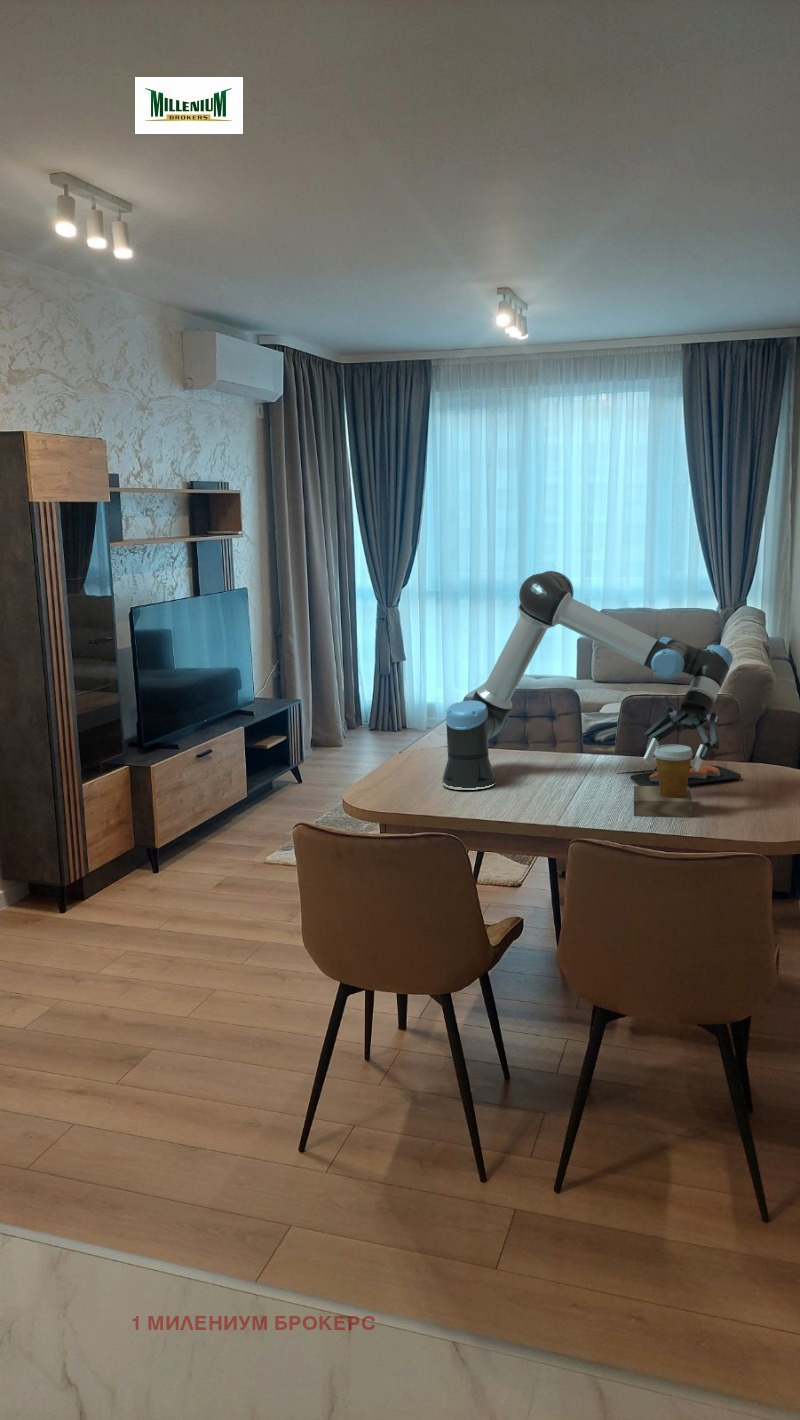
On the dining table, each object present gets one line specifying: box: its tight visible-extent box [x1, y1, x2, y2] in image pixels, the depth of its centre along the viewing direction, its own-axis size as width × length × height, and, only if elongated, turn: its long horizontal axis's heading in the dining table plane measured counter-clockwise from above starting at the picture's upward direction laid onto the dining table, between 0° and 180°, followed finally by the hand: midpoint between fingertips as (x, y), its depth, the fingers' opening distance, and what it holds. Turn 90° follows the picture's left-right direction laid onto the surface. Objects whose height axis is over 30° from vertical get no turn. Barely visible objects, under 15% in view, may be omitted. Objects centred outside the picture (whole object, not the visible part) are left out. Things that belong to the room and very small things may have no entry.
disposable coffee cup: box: [654, 744, 694, 798], centre depth 249 cm, size 10×10×12 cm
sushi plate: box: [615, 764, 742, 786], centre depth 285 cm, size 29×30×4 cm
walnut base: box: [633, 785, 693, 818], centre depth 252 cm, size 14×14×4 cm
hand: (669, 765), depth 252 cm, fingers open, 13 cm apart
